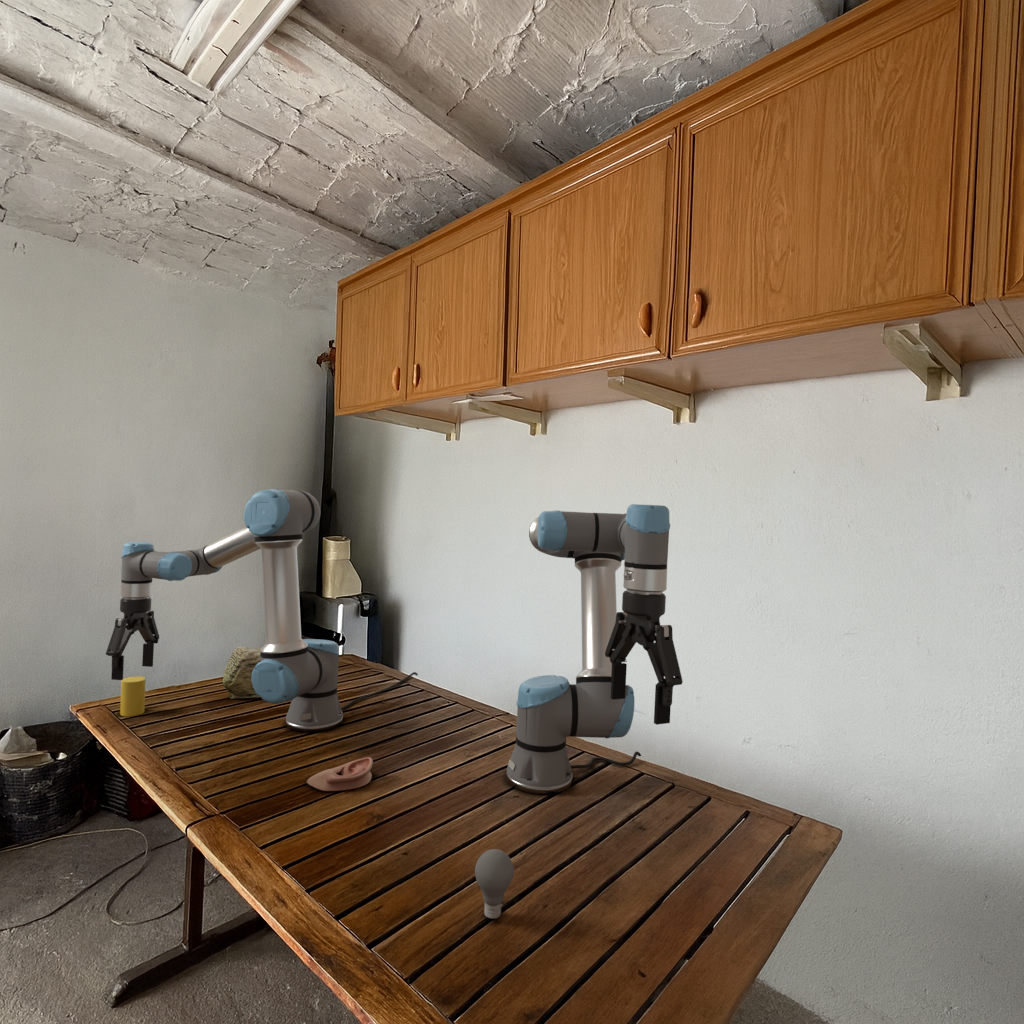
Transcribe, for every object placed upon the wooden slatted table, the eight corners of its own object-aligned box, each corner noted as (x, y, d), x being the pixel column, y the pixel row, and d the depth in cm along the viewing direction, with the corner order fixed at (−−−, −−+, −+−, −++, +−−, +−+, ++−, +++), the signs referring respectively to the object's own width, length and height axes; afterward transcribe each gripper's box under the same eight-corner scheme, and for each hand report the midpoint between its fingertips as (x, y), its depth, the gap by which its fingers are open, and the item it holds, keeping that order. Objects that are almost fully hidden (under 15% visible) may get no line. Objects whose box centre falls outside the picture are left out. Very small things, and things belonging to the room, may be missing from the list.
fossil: (218, 695, 195) (220, 647, 195) (278, 685, 208) (279, 640, 207) (228, 703, 189) (230, 653, 188) (289, 692, 201) (290, 645, 201)
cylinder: (121, 717, 174) (122, 683, 174) (118, 711, 178) (120, 678, 178) (145, 714, 177) (147, 680, 177) (142, 708, 182) (143, 675, 182)
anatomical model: (300, 769, 137) (326, 749, 148) (299, 787, 137) (325, 766, 148) (357, 777, 134) (379, 756, 146) (356, 796, 134) (378, 773, 146)
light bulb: (472, 903, 100) (475, 841, 100) (510, 903, 101) (513, 841, 101) (473, 929, 94) (476, 863, 94) (513, 928, 95) (516, 862, 95)
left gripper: (149, 590, 190) (146, 660, 190) (92, 603, 165) (88, 684, 165) (174, 591, 190) (171, 662, 190) (120, 605, 165) (117, 686, 165)
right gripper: (590, 582, 122) (585, 691, 123) (670, 603, 99) (663, 737, 100) (623, 581, 125) (618, 688, 126) (708, 602, 102) (702, 732, 103)
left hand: (132, 672), depth 178 cm, fingers open, 13 cm apart
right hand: (638, 710), depth 113 cm, fingers open, 13 cm apart
